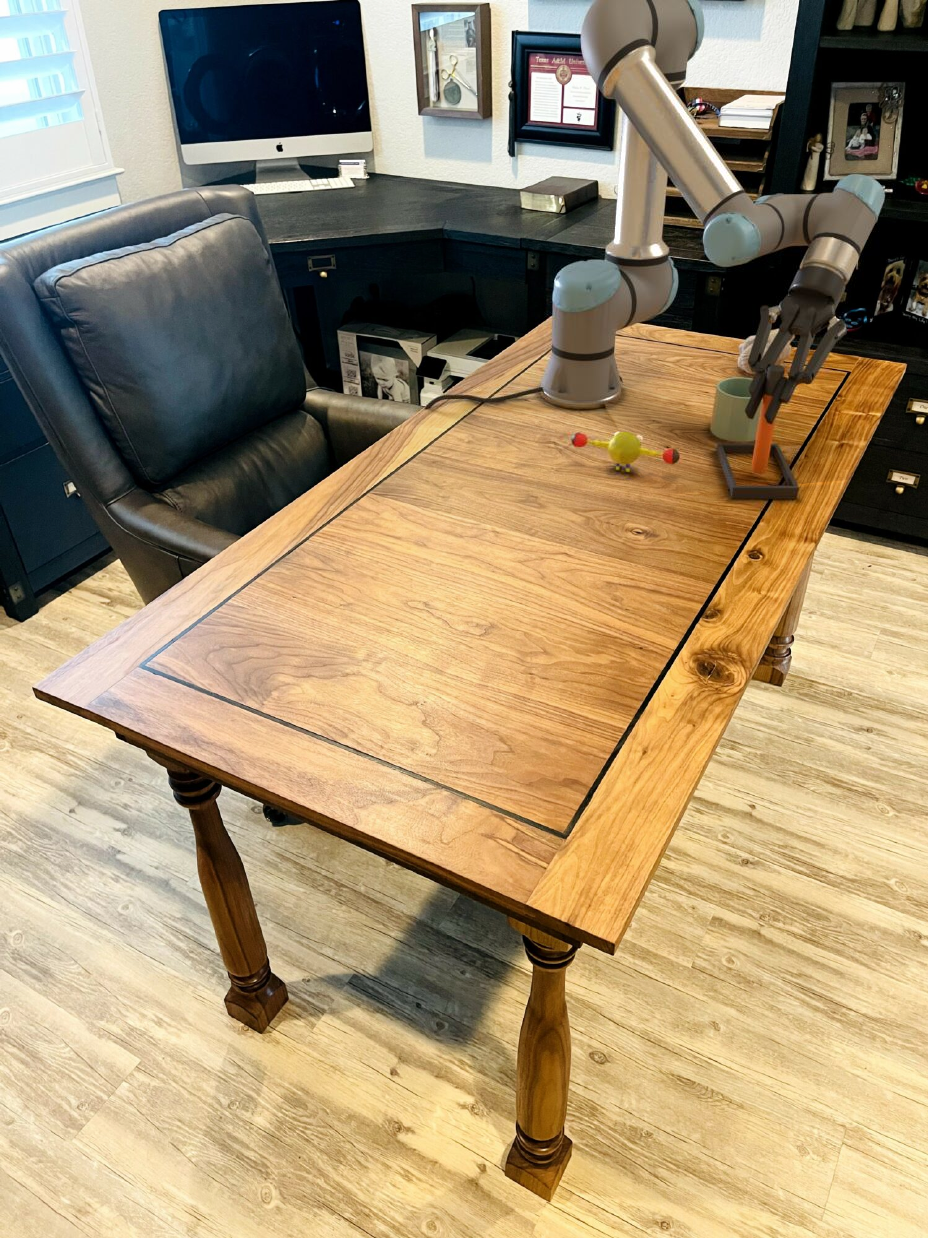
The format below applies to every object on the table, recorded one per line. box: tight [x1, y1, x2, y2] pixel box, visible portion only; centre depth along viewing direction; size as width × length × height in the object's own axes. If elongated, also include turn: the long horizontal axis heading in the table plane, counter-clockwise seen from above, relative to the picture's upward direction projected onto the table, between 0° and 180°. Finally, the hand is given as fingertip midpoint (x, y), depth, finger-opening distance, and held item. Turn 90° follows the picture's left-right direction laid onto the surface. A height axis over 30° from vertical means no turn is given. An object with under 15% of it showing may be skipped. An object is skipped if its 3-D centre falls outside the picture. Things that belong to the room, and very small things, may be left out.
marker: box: [750, 365, 786, 475], centre depth 148 cm, size 2×2×17 cm
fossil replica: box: [737, 328, 796, 375], centre depth 189 cm, size 12×8×10 cm
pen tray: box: [716, 443, 800, 500], centre depth 155 cm, size 15×10×2 cm, turn 177°
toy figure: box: [570, 431, 681, 474], centre depth 156 cm, size 18×6×7 cm, turn 65°
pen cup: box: [709, 376, 763, 443], centre depth 166 cm, size 9×9×8 cm
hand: (758, 417), depth 144 cm, fingers closed on marker, 2 cm apart
